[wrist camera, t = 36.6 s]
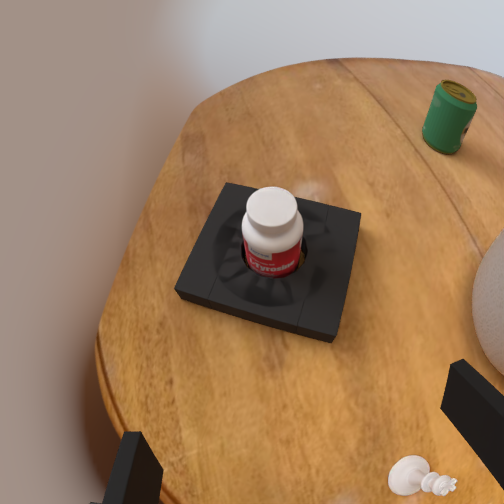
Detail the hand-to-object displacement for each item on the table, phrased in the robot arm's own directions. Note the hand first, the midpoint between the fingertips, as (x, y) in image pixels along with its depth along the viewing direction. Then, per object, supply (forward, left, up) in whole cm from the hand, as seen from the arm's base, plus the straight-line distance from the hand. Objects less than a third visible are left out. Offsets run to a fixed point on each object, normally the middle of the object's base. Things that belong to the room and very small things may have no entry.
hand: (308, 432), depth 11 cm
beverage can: (+16, +51, -21) cm, 57 cm away
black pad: (-7, +18, -21) cm, 28 cm away
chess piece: (+15, -3, -21) cm, 26 cm away
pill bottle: (-7, +18, -21) cm, 28 cm away
